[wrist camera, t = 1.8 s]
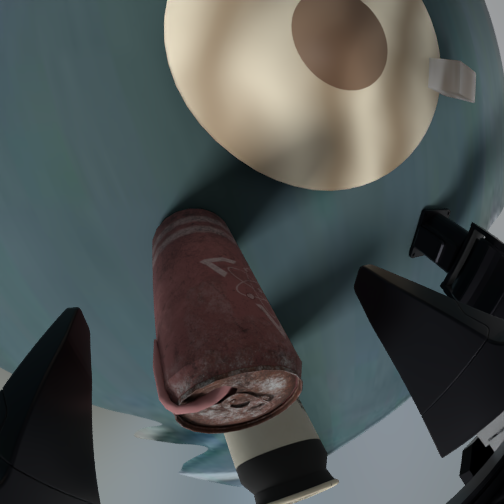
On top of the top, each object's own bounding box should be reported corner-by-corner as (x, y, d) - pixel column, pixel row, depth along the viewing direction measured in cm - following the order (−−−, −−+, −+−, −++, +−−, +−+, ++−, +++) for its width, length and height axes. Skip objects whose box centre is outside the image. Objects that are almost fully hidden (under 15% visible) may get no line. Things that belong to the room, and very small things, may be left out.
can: (150, 203, 18) (153, 376, 7) (235, 208, 21) (333, 354, 10) (148, 274, 21) (163, 443, 10) (223, 274, 24) (287, 424, 12)
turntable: (431, -11, 12) (469, -13, 8) (419, 185, 24) (455, 205, 20) (182, -91, 5) (193, -127, 1) (165, 194, 17) (167, 226, 13)
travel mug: (204, 378, 31) (248, 516, 16) (202, 336, 27) (259, 510, 12) (265, 367, 33) (324, 491, 19) (275, 325, 29) (357, 473, 15)
